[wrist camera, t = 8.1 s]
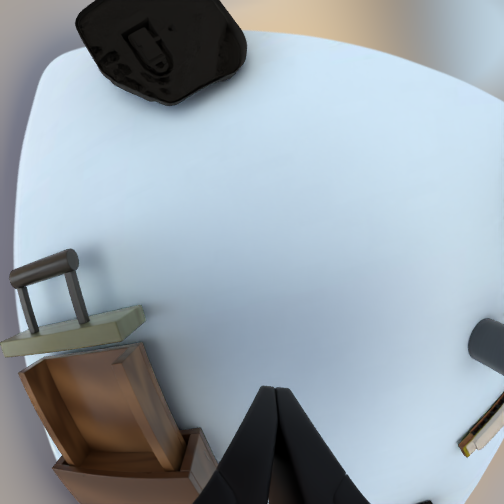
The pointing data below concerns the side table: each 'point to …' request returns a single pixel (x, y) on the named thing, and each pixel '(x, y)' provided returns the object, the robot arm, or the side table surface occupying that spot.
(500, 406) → the harmonica
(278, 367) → the side table surface
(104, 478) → the cabinet
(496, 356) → the cylinder
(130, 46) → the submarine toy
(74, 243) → the side table surface
